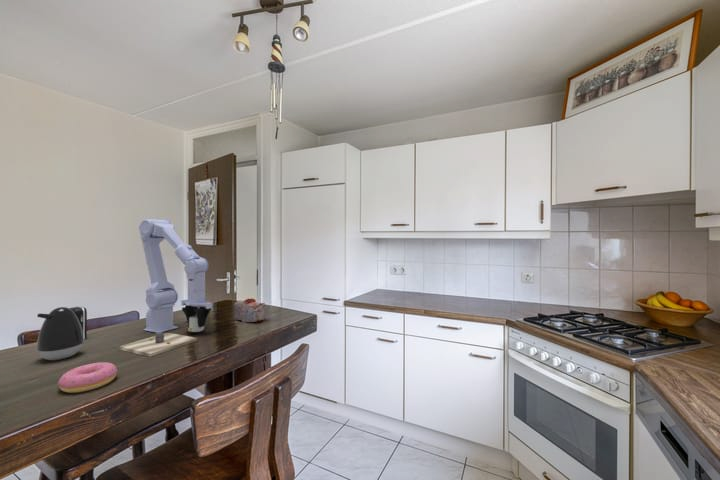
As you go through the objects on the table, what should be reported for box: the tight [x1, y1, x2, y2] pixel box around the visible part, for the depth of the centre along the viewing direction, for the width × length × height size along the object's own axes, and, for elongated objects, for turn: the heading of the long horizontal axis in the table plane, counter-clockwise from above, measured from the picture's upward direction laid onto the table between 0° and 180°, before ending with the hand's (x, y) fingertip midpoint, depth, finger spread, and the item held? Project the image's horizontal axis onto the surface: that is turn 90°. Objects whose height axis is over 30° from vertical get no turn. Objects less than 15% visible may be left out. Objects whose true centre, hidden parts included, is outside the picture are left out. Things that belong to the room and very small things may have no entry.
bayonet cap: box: [187, 315, 206, 333], centre depth 116 cm, size 5×6×5 cm
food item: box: [233, 297, 266, 323], centre depth 134 cm, size 14×8×10 cm, turn 67°
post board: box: [118, 331, 198, 358], centre depth 103 cm, size 16×16×4 cm
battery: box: [68, 306, 88, 340], centre depth 109 cm, size 7×4×11 cm, turn 61°
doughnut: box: [57, 361, 118, 394], centre depth 75 cm, size 11×11×4 cm
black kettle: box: [36, 306, 85, 361], centre depth 92 cm, size 10×10×15 cm
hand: (196, 325), depth 116 cm, fingers closed on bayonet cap, 5 cm apart
